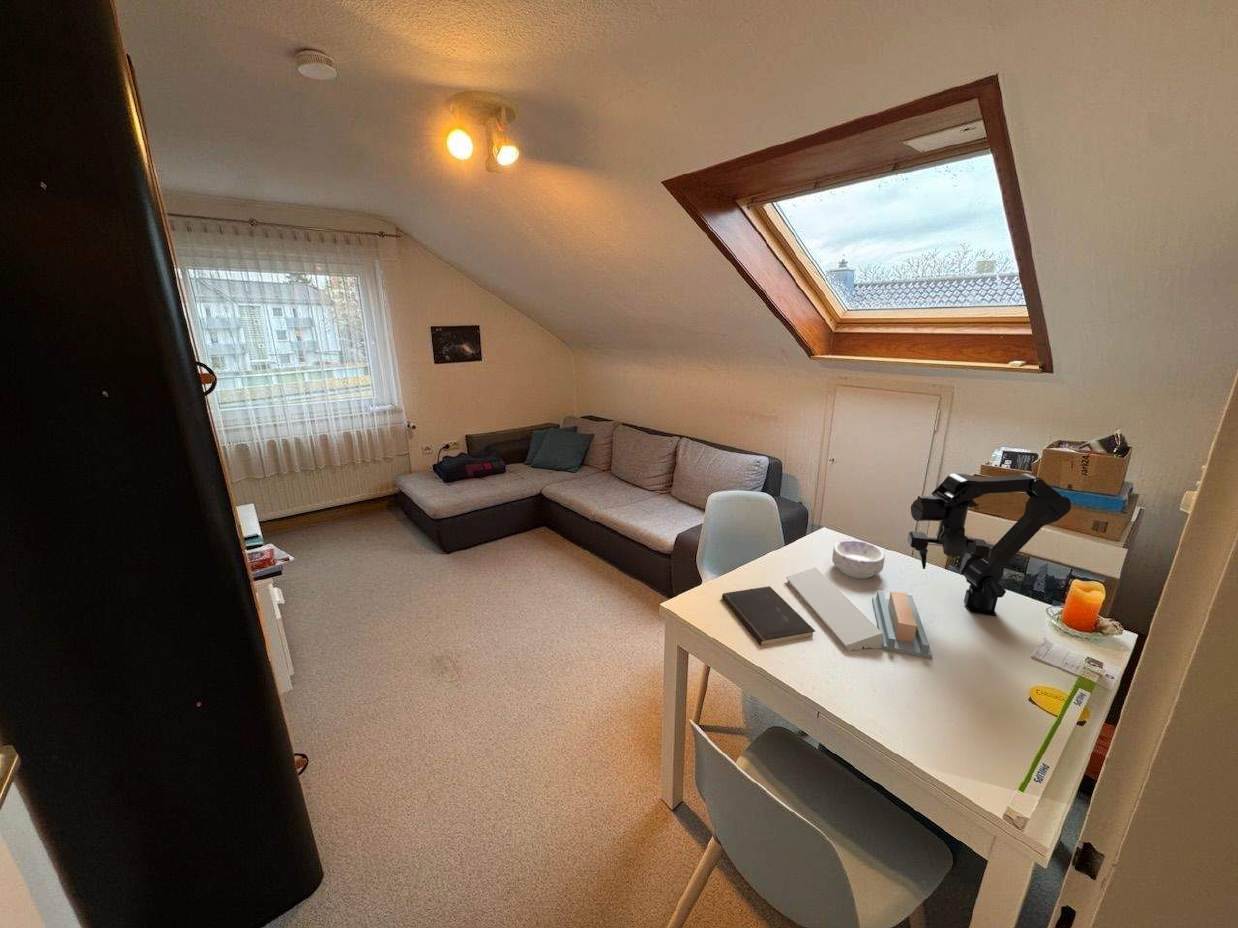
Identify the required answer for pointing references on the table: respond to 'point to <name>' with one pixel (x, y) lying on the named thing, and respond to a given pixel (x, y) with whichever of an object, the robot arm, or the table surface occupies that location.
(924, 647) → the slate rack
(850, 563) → the white purple speckled bowl
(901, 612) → the clay strip
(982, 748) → the table surface
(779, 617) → the hardcover book
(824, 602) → the light grey long wedge
